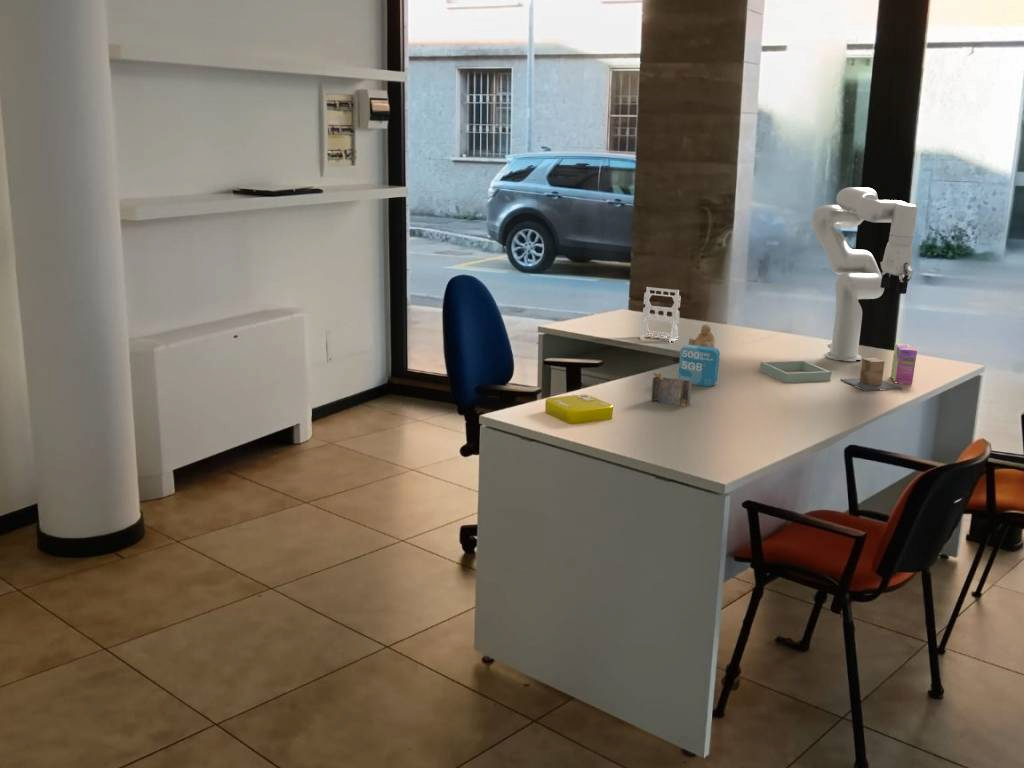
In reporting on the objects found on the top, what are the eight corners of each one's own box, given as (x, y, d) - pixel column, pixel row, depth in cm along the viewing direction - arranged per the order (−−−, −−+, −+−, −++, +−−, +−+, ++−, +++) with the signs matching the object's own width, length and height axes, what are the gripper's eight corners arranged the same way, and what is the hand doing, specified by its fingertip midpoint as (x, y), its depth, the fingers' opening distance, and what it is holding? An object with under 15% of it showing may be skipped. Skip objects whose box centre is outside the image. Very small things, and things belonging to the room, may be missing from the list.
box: (912, 384, 352) (917, 350, 350) (894, 383, 354) (899, 349, 351) (907, 377, 362) (912, 344, 359) (890, 376, 363) (894, 342, 361)
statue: (731, 331, 377) (713, 325, 371) (720, 368, 378) (702, 363, 372) (706, 325, 387) (688, 319, 380) (695, 362, 388) (677, 357, 381)
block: (859, 381, 351) (862, 358, 350) (872, 381, 353) (875, 357, 351) (868, 385, 347) (871, 361, 345) (881, 384, 348) (884, 361, 346)
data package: (677, 382, 344) (680, 346, 341) (681, 379, 348) (684, 343, 345) (713, 387, 339) (716, 350, 336) (717, 384, 343) (720, 348, 340)
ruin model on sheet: (650, 403, 319) (652, 371, 316) (653, 400, 321) (655, 369, 319) (687, 408, 315) (690, 376, 312) (689, 405, 318) (692, 374, 315)
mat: (840, 380, 354) (840, 379, 354) (875, 379, 358) (876, 377, 358) (865, 390, 341) (865, 389, 341) (901, 389, 345) (902, 387, 345)
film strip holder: (682, 337, 416) (686, 287, 411) (672, 344, 404) (676, 292, 399) (647, 333, 421) (650, 284, 417) (636, 339, 409) (640, 288, 404)
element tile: (542, 412, 304) (543, 396, 303) (585, 407, 311) (586, 391, 310) (570, 426, 291) (571, 409, 290) (615, 420, 299) (616, 404, 297)
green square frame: (759, 370, 365) (760, 362, 364) (802, 368, 370) (803, 360, 369) (785, 382, 349) (786, 373, 348) (830, 380, 354) (831, 371, 353)
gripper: (876, 236, 362) (869, 285, 367) (906, 244, 346) (898, 296, 351) (895, 236, 364) (888, 285, 368) (926, 245, 348) (917, 295, 352)
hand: (893, 290), depth 360 cm, fingers open, 9 cm apart
